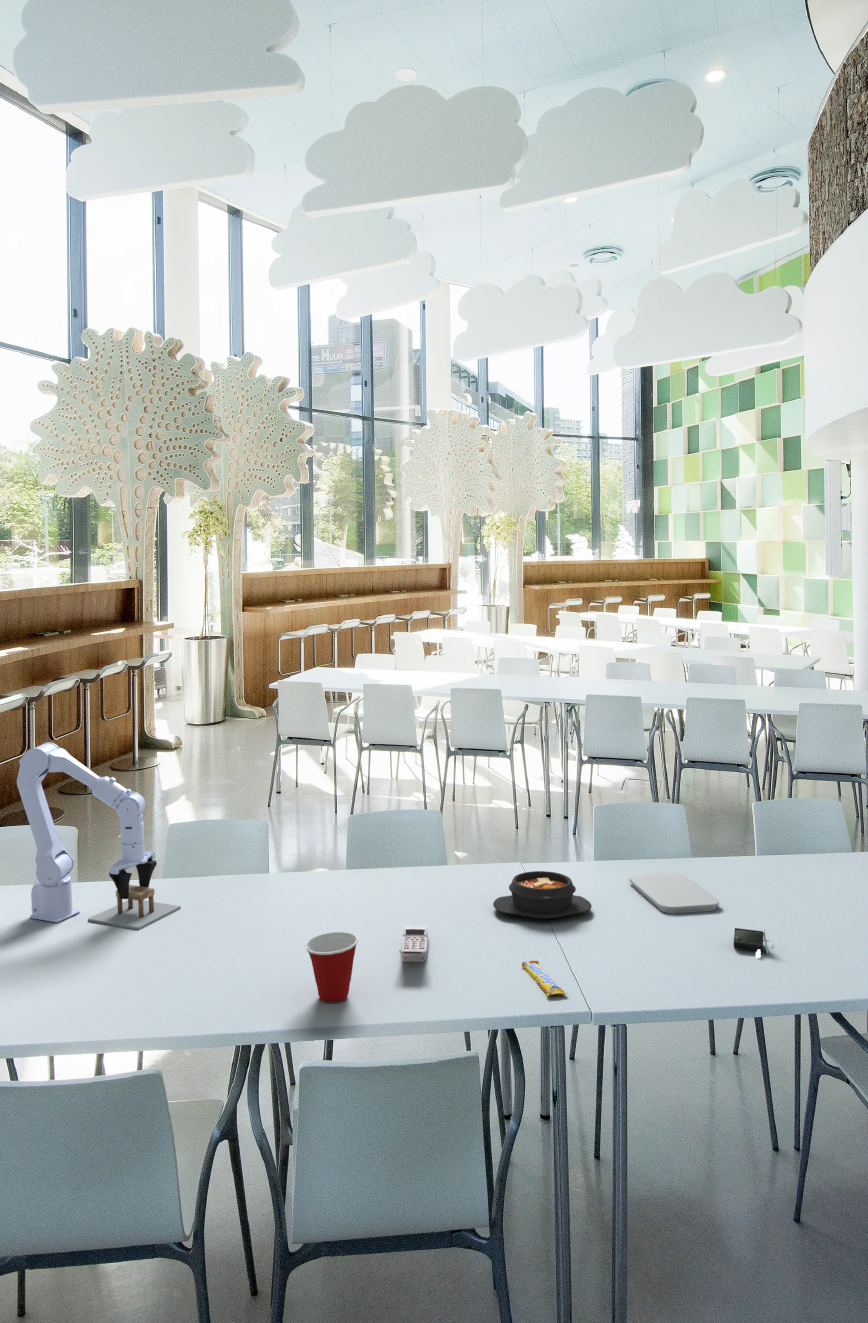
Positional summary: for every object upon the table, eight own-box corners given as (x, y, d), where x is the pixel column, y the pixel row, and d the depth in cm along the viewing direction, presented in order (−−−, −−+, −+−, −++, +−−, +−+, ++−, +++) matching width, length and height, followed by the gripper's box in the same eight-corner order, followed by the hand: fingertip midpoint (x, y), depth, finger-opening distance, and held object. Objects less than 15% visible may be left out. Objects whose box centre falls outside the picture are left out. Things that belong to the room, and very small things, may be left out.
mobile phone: (398, 951, 196) (403, 909, 221) (398, 978, 197) (403, 933, 222) (426, 951, 196) (428, 909, 221) (426, 978, 197) (428, 933, 222)
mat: (87, 921, 231) (87, 918, 231) (131, 900, 246) (131, 898, 246) (138, 930, 225) (138, 927, 225) (180, 908, 240) (180, 906, 240)
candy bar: (519, 968, 202) (519, 960, 202) (538, 966, 203) (537, 958, 203) (548, 1002, 186) (548, 993, 185) (567, 999, 187) (567, 990, 187)
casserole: (496, 926, 226) (496, 892, 225) (490, 900, 244) (490, 869, 244) (597, 924, 226) (598, 891, 226) (584, 898, 245) (584, 867, 244)
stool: (141, 918, 232) (140, 894, 231) (116, 913, 235) (115, 890, 234) (155, 911, 236) (154, 888, 236) (130, 907, 239) (129, 884, 239)
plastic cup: (307, 987, 192) (305, 931, 191) (359, 984, 193) (358, 929, 192) (304, 1010, 182) (302, 951, 181) (359, 1008, 183) (358, 949, 182)
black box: (710, 956, 207) (711, 933, 207) (716, 933, 221) (717, 910, 221) (782, 966, 202) (782, 942, 201) (783, 941, 216) (784, 918, 215)
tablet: (680, 880, 260) (680, 872, 260) (723, 912, 235) (723, 903, 235) (625, 883, 258) (625, 875, 258) (662, 916, 232) (663, 907, 232)
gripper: (125, 850, 226) (127, 905, 227) (163, 835, 239) (165, 887, 240) (102, 847, 228) (104, 901, 230) (142, 833, 242) (143, 883, 243)
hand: (134, 893), depth 235 cm, fingers open, 7 cm apart
